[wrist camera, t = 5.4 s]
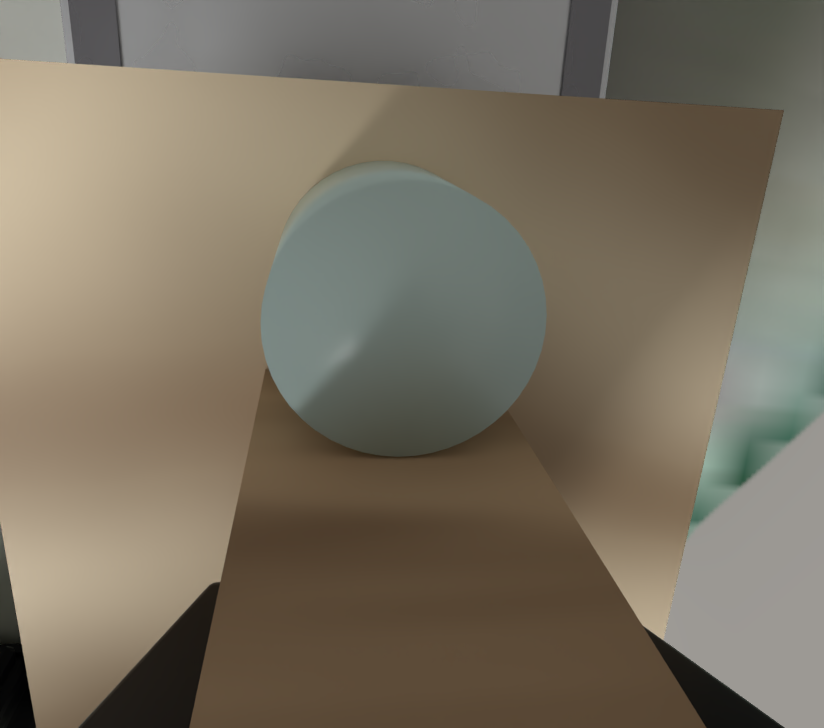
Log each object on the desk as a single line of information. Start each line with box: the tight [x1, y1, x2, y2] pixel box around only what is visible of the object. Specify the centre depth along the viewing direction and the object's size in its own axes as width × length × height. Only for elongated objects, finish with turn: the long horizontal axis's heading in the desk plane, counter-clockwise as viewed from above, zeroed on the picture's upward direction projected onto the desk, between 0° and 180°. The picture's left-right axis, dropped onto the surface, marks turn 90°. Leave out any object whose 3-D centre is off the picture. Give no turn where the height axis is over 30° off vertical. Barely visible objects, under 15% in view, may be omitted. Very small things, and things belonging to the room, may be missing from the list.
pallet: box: [0, 59, 784, 728], centre depth 8 cm, size 12×12×10 cm
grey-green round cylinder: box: [260, 161, 547, 457], centre depth 9 cm, size 3×3×3 cm
